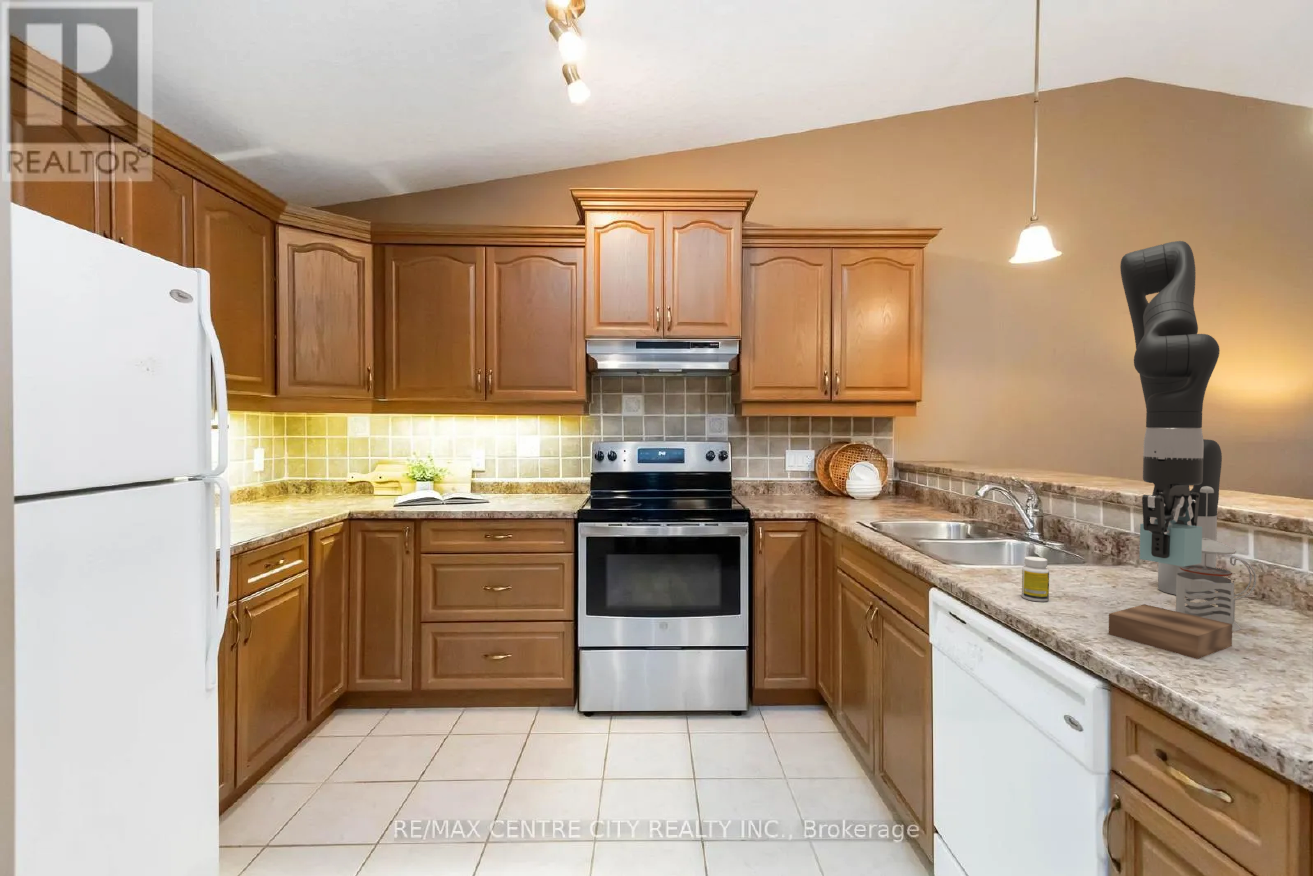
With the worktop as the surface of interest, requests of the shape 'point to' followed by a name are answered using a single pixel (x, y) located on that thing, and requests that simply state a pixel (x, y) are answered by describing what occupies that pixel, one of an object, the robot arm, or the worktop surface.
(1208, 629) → the walnut block
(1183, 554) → the teal cube
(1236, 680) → the worktop surface
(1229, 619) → the french press
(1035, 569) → the supplement bottle
